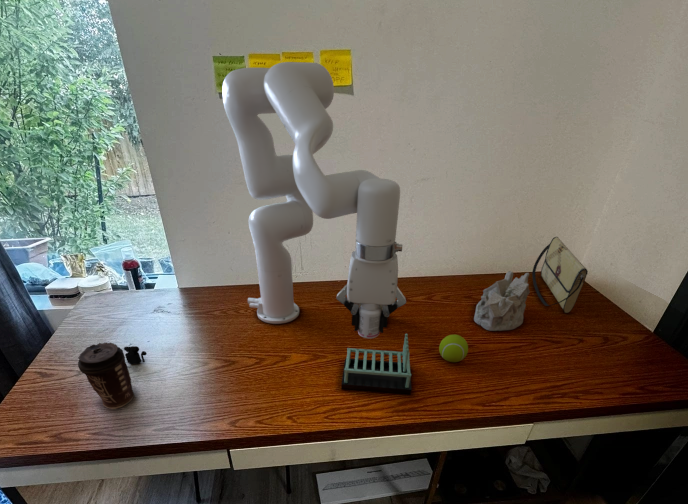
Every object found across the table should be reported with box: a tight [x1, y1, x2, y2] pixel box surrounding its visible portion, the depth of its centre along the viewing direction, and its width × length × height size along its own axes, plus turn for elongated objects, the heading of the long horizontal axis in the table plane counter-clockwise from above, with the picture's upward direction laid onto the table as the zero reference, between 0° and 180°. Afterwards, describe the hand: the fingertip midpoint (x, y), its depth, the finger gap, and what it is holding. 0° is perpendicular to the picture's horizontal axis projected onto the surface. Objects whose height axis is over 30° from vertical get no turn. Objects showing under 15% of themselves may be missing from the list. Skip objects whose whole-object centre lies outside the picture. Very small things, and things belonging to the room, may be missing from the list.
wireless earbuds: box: [123, 345, 148, 365], centre depth 97 cm, size 7×2×5 cm, turn 96°
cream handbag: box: [531, 236, 589, 314], centre depth 127 cm, size 30×7×15 cm, turn 172°
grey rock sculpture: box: [473, 270, 531, 332], centre depth 115 cm, size 16×16×15 cm
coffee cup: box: [77, 342, 135, 410], centre depth 84 cm, size 9×8×13 cm
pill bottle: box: [357, 303, 381, 340], centre depth 85 cm, size 5×5×8 cm
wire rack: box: [340, 333, 413, 396], centre depth 92 cm, size 16×10×11 cm, turn 84°
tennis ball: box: [438, 334, 469, 363], centre depth 99 cm, size 7×7×7 cm
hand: (368, 327), depth 87 cm, fingers closed on pill bottle, 4 cm apart
